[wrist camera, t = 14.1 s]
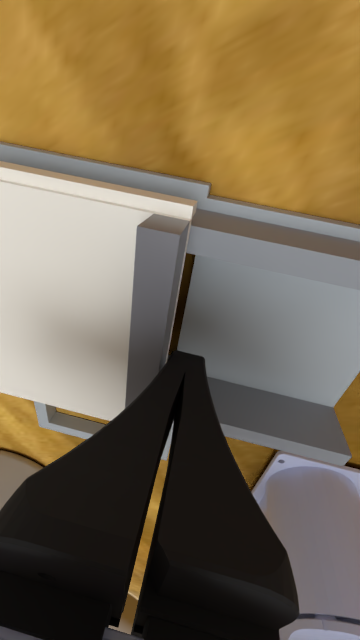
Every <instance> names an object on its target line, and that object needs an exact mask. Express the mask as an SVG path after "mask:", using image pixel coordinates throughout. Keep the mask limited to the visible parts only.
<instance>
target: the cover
mask: <svg viewBox="0 0 360 640" xmlns="http://www.w3.org/2000/svg"><path fill="white" fill-rule="evenodd" d="M197 202H198V201H195V200H190V199H185V198H181V197H176V196H171V195H166V194H161V193H156V192H151V191H146V190H141V189H136V188H131V187H126V186H121V185H116V184H112V183H107V182H102V181H97V180H92V179H87V178H82V177H77V176H72V175H67V174H62V173H57V172H52V171H47V170H43V169H38V168H33V167H28V166H23V165H18V164H13V163H8V162H3V161H0V392H1V393H5V394H9V395H13V396H17V397H20V398H24V399H28V400H32V401H36V402H40V403H43V404H47V405H51V406H55V407H59V408H63V409H66V410H70V411H74V412H78V413H82V414H86V415H89V416H93V417H97V418H101V419H105V420H109V421H111V420H113V419H114V418H115V417H116V416H117V415H119V414H120V413H121V412H122V411H123V410H124V409H125V408H126V407H127V406H129V405H130V404H131V403H132V402H133V401H134V400H135V399H136V398H137V397H138V396H139V395H140V394H141V392H142V391H143V390H144V389H145V388H146V387H147V386H148V385H149V384H150V383H151V382H152V380H153V379H154V378H155V377H156V376H157V374H158V373H159V372H160V371H161V369H162V368H163V367H164V365H165V364H166V362H167V358H168V353H169V347H170V341H171V336H172V330H173V324H174V319H175V313H176V307H177V301H178V296H179V290H180V284H181V279H182V273H183V267H184V262H185V256H186V250H187V245H188V239H189V233H190V227H191V222H192V217H193V216H194V214H195V213H196V207H197Z"/></svg>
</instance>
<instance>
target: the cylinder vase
mask: <svg viewBox="0 0 360 640" xmlns="http://www.w3.org/2000/svg"><path fill="white" fill-rule="evenodd" d="M42 468H43V467H42V466H40V465H39V464H37V463H35V462H34V461H32V460H30V459H27V458H25V457H23V456H20V455H18V454H15V453H11V452H7V451H2V450H0V510H1V509H2V507H3V506H4V505H5V503H6V502H7V501H8V500H9V498H10V497H11V496H12V495H13V493H14V492H15V491H16V490H17V488H18V487H19V486H20V485H21V484H22V483H23V482H24V481H25V479H26V478H28V477H29V476H31V475H32V474H34V473H36V472H37V471H39V470H41V469H42Z"/></svg>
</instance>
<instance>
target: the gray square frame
mask: <svg viewBox="0 0 360 640" xmlns="http://www.w3.org/2000/svg"><path fill="white" fill-rule="evenodd" d="M0 161H3V162H8V163H13V164H18V165H23V166H28V167H33V168H38V169H43V170H47V171H52V172H57V173H62V174H67V175H72V176H77V177H82V178H87V179H92V180H97V181H102V182H107V183H112V184H116V185H121V186H126V187H131V188H136V189H141V190H146V191H151V192H156V193H161V194H166V195H171V196H176V197H181V198H185V199H190V200H195V201H198V202H197V207H196V213H195V214H194V216H193V217H192V222H191V227H190V233H189V239H188V245H187V250H186V253H189V254H194V255H196V256H195V261H194V266H193V271H192V276H191V281H190V286H189V291H188V296H187V301H186V306H185V312H184V317H183V322H182V327H181V332H180V337H179V342H178V347H177V350H178V351H182V352H186V353H190V354H194V355H199V356H203V357H204V358H205V367H206V374H207V380H208V385H209V389H210V393H211V397H212V401H213V404H214V408H215V411H216V414H217V417H218V420H219V423H220V426H221V428H222V431H223V434H224V436H227V437H231V438H234V439H238V440H242V441H246V442H250V443H254V444H258V445H262V446H265V447H269V448H273V449H277V450H281V451H285V452H289V453H293V454H297V455H300V456H304V457H308V458H312V459H316V460H320V461H324V462H328V463H331V464H335V465H339V466H344V465H345V464H346V463H347V461H348V460H349V459H350V458H351V457H352V455H351V453H350V450H349V447H348V445H347V442H346V440H345V437H344V434H343V432H342V429H341V427H340V424H339V421H338V419H337V416H336V414H335V411H334V409H333V407H334V405H335V404H336V403H337V401H338V400H339V399H340V397H341V396H342V395H343V393H344V392H345V391H346V389H347V388H348V386H349V385H350V384H351V382H352V381H353V380H354V378H355V377H356V376H357V374H358V373H359V371H360V225H357V224H353V223H348V222H343V221H338V220H333V219H328V218H323V217H318V216H313V215H308V214H303V213H298V212H293V211H288V210H283V209H278V208H273V207H268V206H263V205H258V204H253V203H248V202H243V201H238V200H233V199H228V198H223V197H218V196H213V195H209V193H210V188H211V183H208V182H202V181H197V180H192V179H187V178H182V177H177V176H172V175H167V174H162V173H157V172H152V171H147V170H142V169H137V168H132V167H127V166H122V165H117V164H112V163H107V162H101V161H96V160H91V159H86V158H81V157H76V156H71V155H66V154H61V153H56V152H51V151H46V150H41V149H36V148H31V147H26V146H21V145H16V144H11V143H6V142H0ZM170 356H171V355H168V358H167V361H168V359H169V358H170ZM34 404H35V408H36V413H37V417H38V422H39V426H40V427H43V428H47V429H50V430H54V431H58V432H62V433H65V434H69V435H73V436H77V437H80V438H84V439H88V438H90V437H91V436H92V435H94V434H95V433H96V432H98V431H99V430H100V429H102V428H103V427H104V426H105V424H101V423H97V422H93V421H89V420H86V419H82V418H78V417H74V416H70V415H67V414H63V413H59V412H56V407H55V406H51V405H47V404H43V403H40V402H36V401H34ZM173 424H174V421H173ZM173 424H172V427H171V430H170V433H169V436H168V439H167V442H166V445H165V448H164V451H163V454H162V457H161V459H163V460H166V461H167V457H168V453H169V449H170V444H171V439H172V432H173Z"/></svg>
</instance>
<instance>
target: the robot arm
mask: <svg viewBox="0 0 360 640" xmlns="http://www.w3.org/2000/svg"><path fill="white" fill-rule="evenodd" d="M173 421H174V424H173ZM172 424H173V432H172V439H171V447H170V454H169V461H168V467H167V473H166V478H165V483H164V487H163V492H162V496H161V501H160V506H159V510H158V515H157V519H156V524H155V528H154V533H153V537H152V542H151V546H150V551H149V555H148V560H147V564H146V569H145V573H144V578H143V582H142V587H141V591H140V596H139V600H138V605H137V609H136V614H135V619H134V623H133V627H132V632H131V635H130V634H127V633H123V632H120V631H117V630H114V629H111V628H108V626H109V625H111V626H115V627H118V626H119V622H120V618H121V614H122V612H123V610H124V606H125V602H126V598H127V594H128V590H129V585H130V581H131V577H132V573H133V569H134V565H135V561H136V556H137V552H138V548H139V544H140V540H141V536H142V532H143V527H144V523H145V519H146V515H147V511H148V507H149V503H150V499H151V494H152V490H153V486H154V482H155V478H156V474H157V470H158V467H159V463H160V460H161V457H162V454H163V451H164V448H165V445H166V442H167V439H168V436H169V433H170V430H171V427H172ZM0 640H360V470H359V469H355V468H351V467H348V466H339V465H335V464H331V463H328V462H324V461H320V460H316V459H312V458H308V457H304V456H300V455H297V454H293V453H289V452H285V451H281V450H280V451H278V452H277V453H276V455H275V456H274V458H273V459H272V461H271V462H270V464H269V465H268V467H267V468H266V470H265V471H264V473H263V475H262V476H261V478H260V479H259V481H258V482H257V484H256V485H255V487H254V488H253V490H252V491H250V489H249V487H248V485H247V483H246V481H245V479H244V477H243V475H242V473H241V471H240V469H239V467H238V466H237V464H236V461H235V459H234V457H233V455H232V453H231V450H230V448H229V446H228V443H227V441H226V439H225V436H224V434H223V431H222V428H221V426H220V423H219V420H218V417H217V414H216V411H215V408H214V404H213V401H212V397H211V393H210V389H209V385H208V380H207V374H206V367H205V358H204V357H203V356H199V355H194V354H190V353H186V352H182V351H178V350H175V351H173V352H172V354H171V356H170V358H169V359H168V361H167V362H166V364H165V365H164V367H163V368H162V369H161V371H160V372H159V373H158V374H157V376H156V377H155V378H154V379H153V380H152V382H151V383H150V384H149V385H148V386H147V387H146V388H145V389H144V390H143V391H142V392H141V394H140V395H139V396H138V397H137V398H136V399H135V400H134V401H133V402H132V403H131V404H130V405H129V406H127V407H126V408H125V409H124V410H123V411H122V412H121V413H120V414H119V415H117V416H116V417H115V418H114V419H113V420H111V421H110V422H109V423H108V424H107V425H105V426H104V427H103V428H102V429H100V430H99V431H98V432H96V433H95V434H94V435H92V436H91V437H90V438H88V439H87V440H85V441H84V442H82V443H81V444H80V445H78V446H77V447H75V448H74V449H72V450H71V451H70V452H68V453H67V454H65V455H63V456H62V457H60V458H59V459H57V460H55V461H54V462H52V463H50V464H49V465H47V466H46V467H44V468H42V469H41V470H39V471H37V472H36V473H34V474H32V475H31V476H29V477H28V478H26V479H25V481H24V482H23V483H22V484H21V485H20V486H19V487H18V488H17V490H16V491H15V492H14V493H13V495H12V496H11V497H10V498H9V500H8V501H7V502H6V503H5V505H4V506H3V507H2V509H1V510H0Z"/></svg>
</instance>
